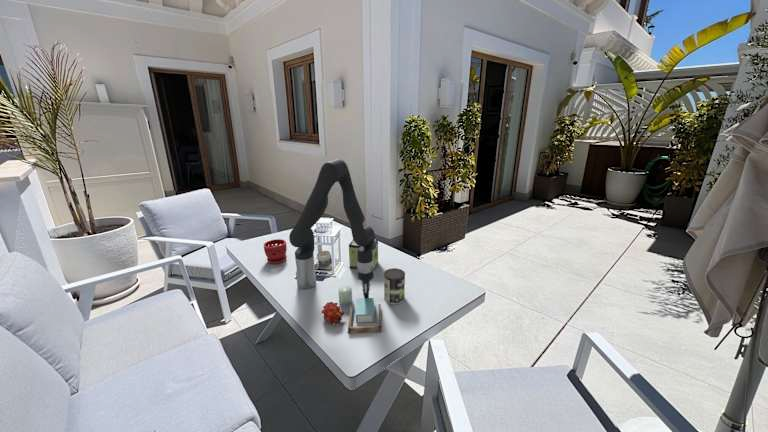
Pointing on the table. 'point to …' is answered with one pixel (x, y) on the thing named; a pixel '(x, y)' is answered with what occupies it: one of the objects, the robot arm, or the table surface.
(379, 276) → the table surface
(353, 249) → the protein box
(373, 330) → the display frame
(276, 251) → the plant pot
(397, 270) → the coffee can
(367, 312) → the teal carton
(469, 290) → the table surface
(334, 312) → the dragon fruit
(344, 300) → the pale green dome
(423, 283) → the table surface
